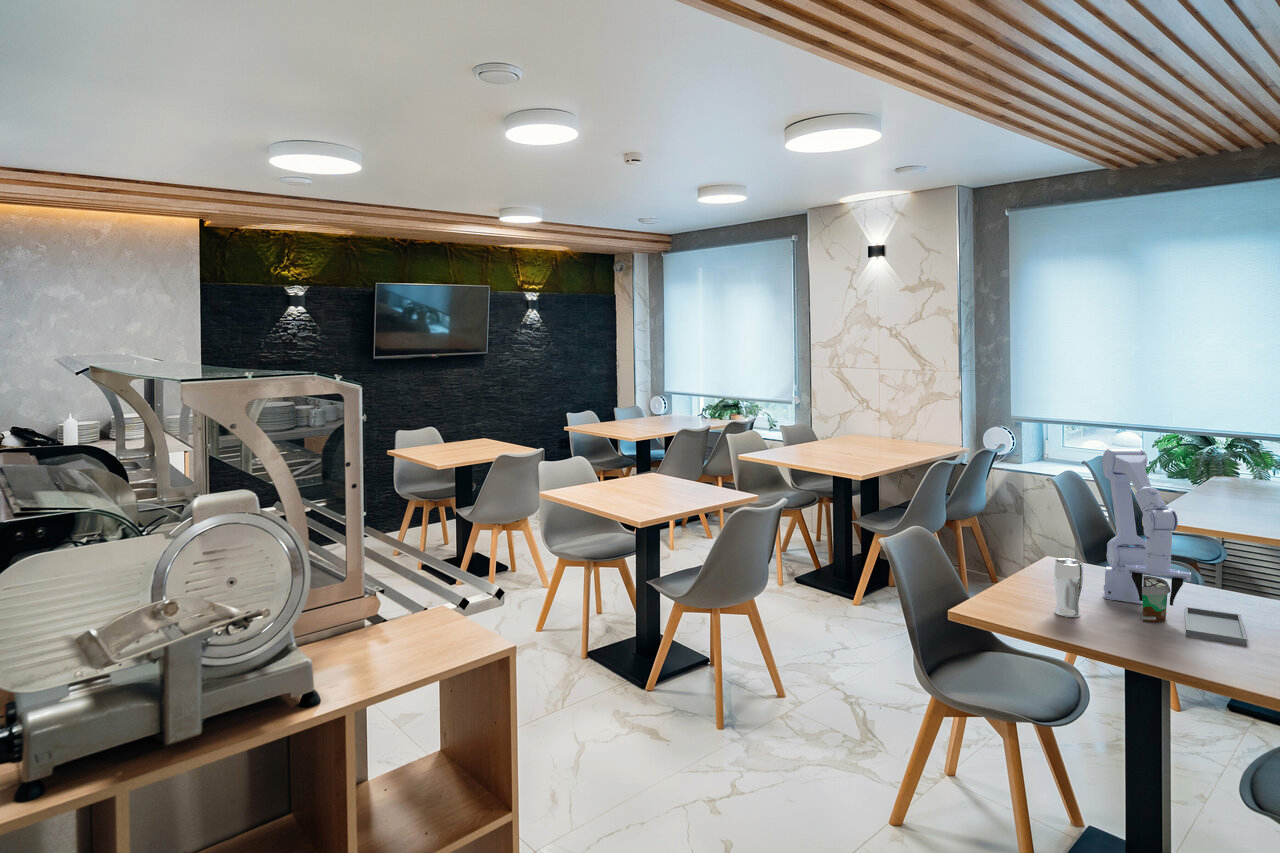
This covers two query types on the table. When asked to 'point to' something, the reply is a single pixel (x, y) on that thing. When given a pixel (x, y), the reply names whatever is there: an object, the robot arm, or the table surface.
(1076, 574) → the beer glass
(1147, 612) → the food container
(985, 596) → the table surface
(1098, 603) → the table surface
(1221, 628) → the gray tray
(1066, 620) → the table surface
